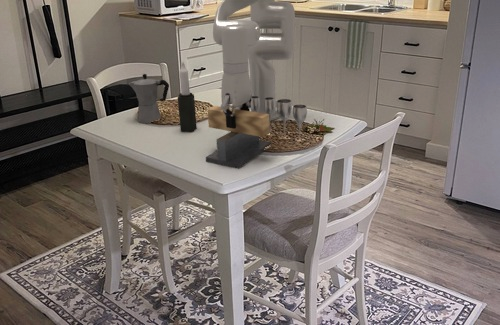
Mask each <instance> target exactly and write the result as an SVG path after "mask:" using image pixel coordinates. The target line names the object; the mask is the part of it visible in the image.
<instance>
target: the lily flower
mask: <svg viewBox="0 0 500 325" xmlns="http://www.w3.org/2000/svg"><path fill="white" fill-rule="evenodd" d="M324 122H325V118H323V119H322V121H321V120H319V121H318V120H316V119H313V121H312V123H311V125H310V124H309V125H308V126H309V127H316V130H317V129H319V128H320V129H321V130H320V129H319V130H320V132H322V133H323V135H322V136H324V135H325V134H326V133H327V132H330V133H333V131H332V130H334V129H335V127H330V126H327V125H325V124H324ZM312 125H315V126H312ZM306 129H310V128H308V127H307V128H306ZM310 131H311V130H309V133H310Z"/></svg>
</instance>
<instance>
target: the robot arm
mask: <svg viewBox="0 0 500 325" xmlns="http://www.w3.org/2000/svg"><path fill="white" fill-rule="evenodd" d="M249 6H250V8H249V9H250V11H249V12H250V19H249V20H248V19H247V20H243V19H241V20H239V19H230V20H229V18H230V17H231V16H232V15H233V14H235V13H236V12H238V11H240V10H243V9H245V8H248V7H249ZM295 15H296V13H295V7H294V5H293V4H292V3H291V2H290V1H283V0H281V1H279V0H278V1H277V0H222V2H220V4H219V5H218V6H217V9H216V11H215V16H214V21H213V26H212V27H213V29H212V38H213V40H214V42H215V44H217V45H219V46H221V50H222V66H223V67H222V68H223V74H222V78H221V104H220V107H221V109H222V110H223V112H224V114H225V116H226V127H227V128H232V129H235V128H236V116H234V113H235V109H236V107H238V106H240V105H241V107H240V110H245V111H251V108H250V107H251V105H250V103H251V98H252V96H258V97H259V100H260V107H259V111H258V113H264V114H266V113H265V110H264V99H265V98H267V97H272V98H274V102H275V108H274V112H273V114H272V117H271V121H275V120H277V119H279V118H280V117H279V115H278V113H277V101H278V100H276V98H277V97H276V96H277V95H276V94H277V93H276V70H275V67H274V66H273V64H272V63H271V62H270V61H288V60H291V59H292V58H293V56H294V54H295V47H296V46H295V44H296V43H295V42H296V41H295V40H296V36H295V35H296V16H295ZM261 30H279V31H281V32H261ZM229 108H232V111H230V110H229ZM251 112H252V111H251ZM271 121H270V122H271Z"/></svg>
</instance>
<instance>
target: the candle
mask: <svg viewBox="0 0 500 325" xmlns="http://www.w3.org/2000/svg"><path fill="white" fill-rule="evenodd" d="M179 81H180V91H181V92H180V93H179V94H178V96H177V104H178V105H177V107H178V115H179V126H180V132H182V133H194V132H195V130H197V126H198V125H197V117H196V116H197V115H196V104H195V94H194V93H192V92H191V91H190V76H189V71H188V69H187V67H186V64H185V61H181V67H180V70H179Z"/></svg>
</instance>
